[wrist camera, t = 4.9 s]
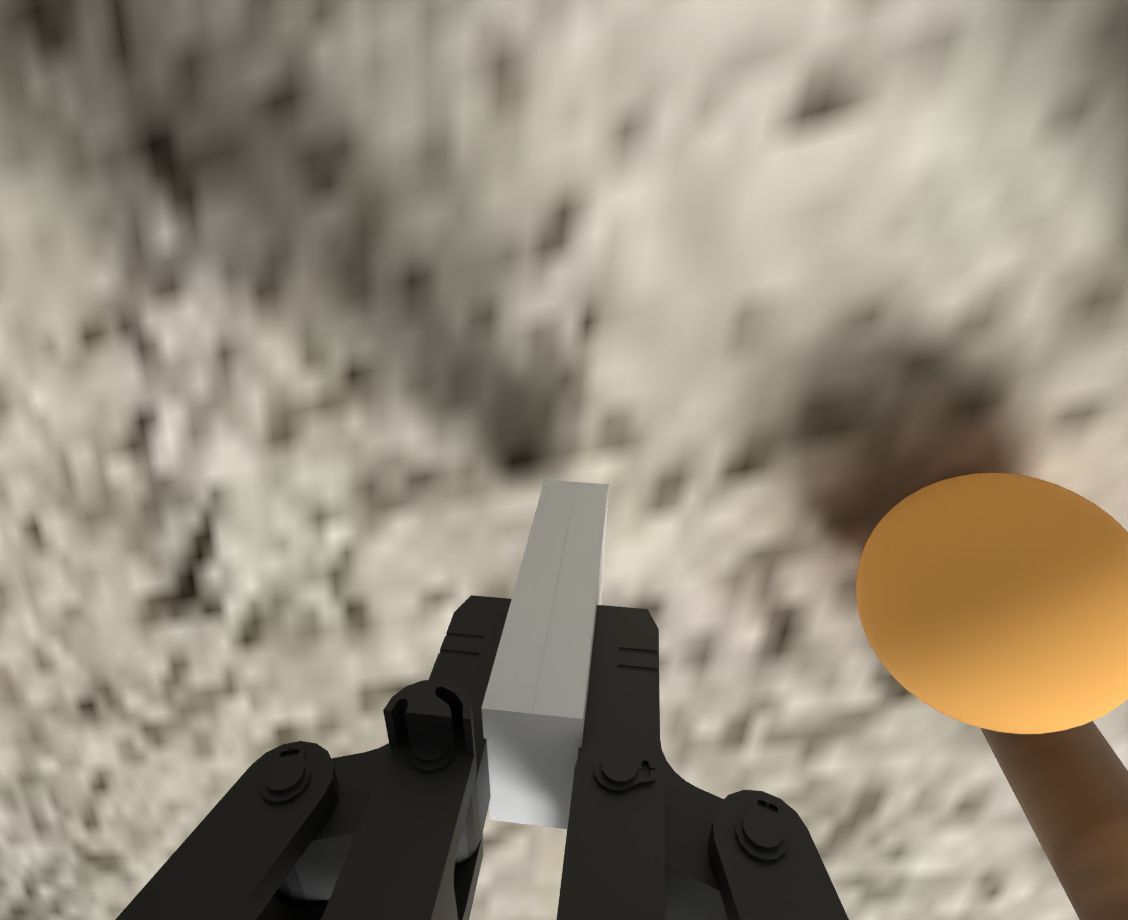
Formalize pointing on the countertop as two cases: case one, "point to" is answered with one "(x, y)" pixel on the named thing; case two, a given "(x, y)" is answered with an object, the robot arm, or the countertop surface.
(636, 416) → the countertop surface
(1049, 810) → the post
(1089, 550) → the ball
